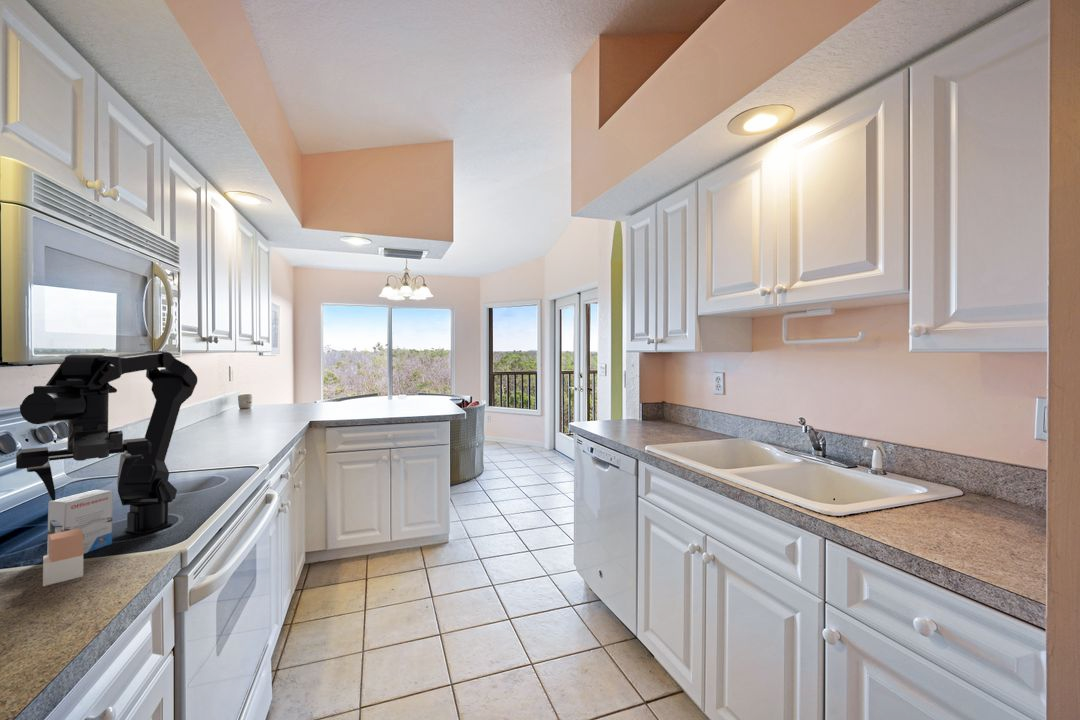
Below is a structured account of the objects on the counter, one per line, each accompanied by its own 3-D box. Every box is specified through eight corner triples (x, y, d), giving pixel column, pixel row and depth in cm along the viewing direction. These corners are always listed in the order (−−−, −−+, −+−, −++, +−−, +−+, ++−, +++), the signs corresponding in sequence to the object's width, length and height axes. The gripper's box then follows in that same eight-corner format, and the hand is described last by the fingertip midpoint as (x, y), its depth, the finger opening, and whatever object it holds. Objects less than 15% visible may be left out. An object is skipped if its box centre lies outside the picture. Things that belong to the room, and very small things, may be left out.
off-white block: (81, 568, 86) (82, 547, 86) (83, 577, 83) (83, 555, 83) (43, 577, 82) (43, 555, 82) (42, 587, 79) (43, 564, 79)
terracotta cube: (79, 549, 85) (80, 528, 85) (83, 554, 83) (83, 533, 83) (48, 556, 82) (49, 534, 82) (51, 562, 80) (51, 540, 80)
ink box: (95, 541, 98) (96, 488, 98) (113, 544, 97) (114, 490, 97) (45, 559, 89) (46, 500, 89) (64, 561, 88) (65, 502, 88)
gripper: (16, 426, 77) (15, 516, 77) (157, 416, 91) (156, 492, 91) (16, 420, 84) (15, 502, 84) (147, 411, 98) (146, 482, 98)
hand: (87, 494), depth 89 cm, fingers open, 9 cm apart
